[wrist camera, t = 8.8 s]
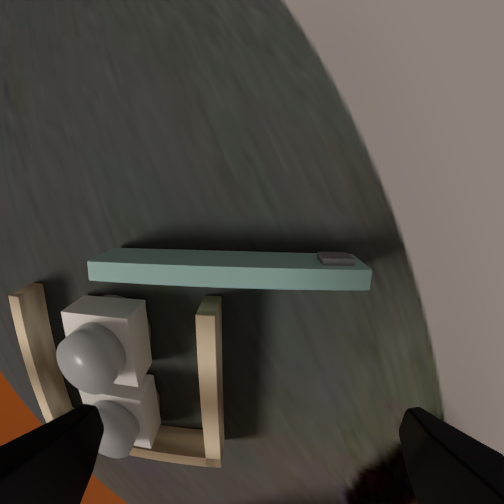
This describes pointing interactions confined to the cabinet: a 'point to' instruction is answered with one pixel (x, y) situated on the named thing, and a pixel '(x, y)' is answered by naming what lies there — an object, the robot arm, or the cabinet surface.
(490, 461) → the robot arm
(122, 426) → the jaw
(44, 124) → the cabinet surface
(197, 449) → the housing
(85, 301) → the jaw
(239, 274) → the panel
